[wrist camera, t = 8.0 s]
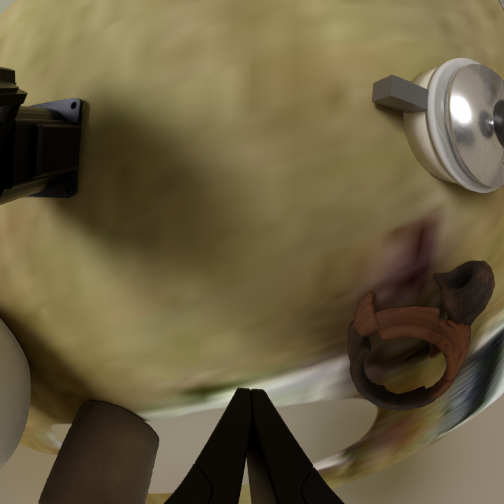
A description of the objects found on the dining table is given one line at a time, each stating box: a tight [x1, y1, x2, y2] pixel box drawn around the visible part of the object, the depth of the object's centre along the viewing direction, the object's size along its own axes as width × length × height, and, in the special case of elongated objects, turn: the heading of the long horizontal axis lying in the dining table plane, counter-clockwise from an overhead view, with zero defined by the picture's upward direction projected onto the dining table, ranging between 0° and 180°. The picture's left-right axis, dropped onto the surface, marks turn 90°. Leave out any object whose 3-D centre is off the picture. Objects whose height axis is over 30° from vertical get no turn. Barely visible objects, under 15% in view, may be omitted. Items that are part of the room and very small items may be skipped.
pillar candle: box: [38, 401, 159, 504], centre depth 17 cm, size 10×10×15 cm
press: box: [372, 58, 499, 193], centre depth 13 cm, size 11×8×4 cm
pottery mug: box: [348, 261, 495, 410], centre depth 17 cm, size 12×10×8 cm
